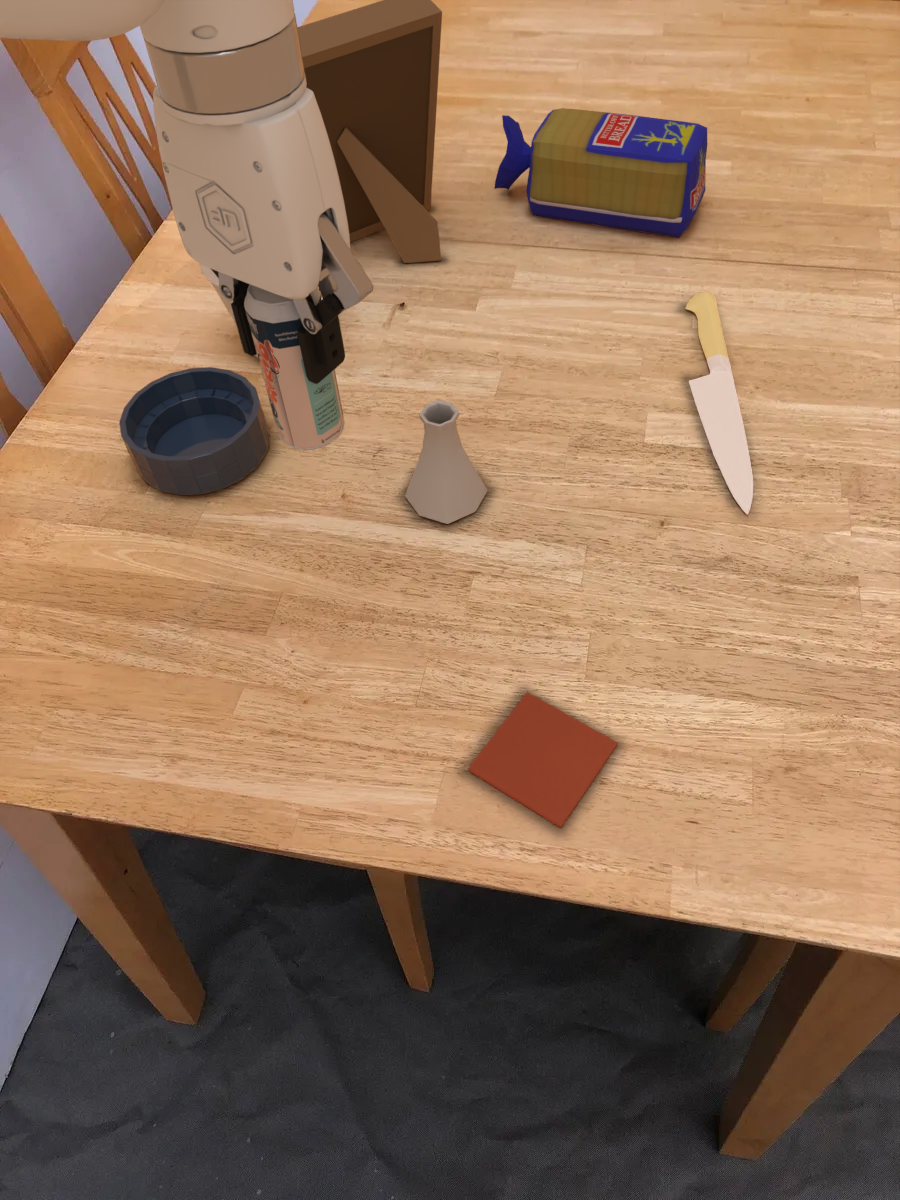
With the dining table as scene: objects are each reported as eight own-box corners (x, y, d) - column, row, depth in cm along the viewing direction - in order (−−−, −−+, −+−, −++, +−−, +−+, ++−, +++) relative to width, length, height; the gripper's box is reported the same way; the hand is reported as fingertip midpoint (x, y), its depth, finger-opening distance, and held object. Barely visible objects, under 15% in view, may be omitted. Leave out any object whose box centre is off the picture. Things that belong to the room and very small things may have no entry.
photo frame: (261, 256, 112) (206, 30, 93) (412, 196, 119) (391, -27, 99) (318, 313, 104) (272, 80, 85) (477, 246, 111) (468, 15, 91)
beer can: (287, 409, 68) (251, 262, 59) (351, 411, 68) (324, 263, 58) (272, 453, 65) (231, 307, 56) (338, 456, 65) (308, 309, 55)
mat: (560, 828, 65) (560, 826, 65) (468, 771, 68) (467, 768, 68) (617, 745, 69) (617, 742, 69) (527, 694, 72) (527, 691, 72)
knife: (715, 514, 82) (768, 507, 81) (671, 293, 102) (713, 285, 101) (716, 524, 83) (768, 517, 82) (672, 303, 103) (714, 295, 102)
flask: (391, 499, 86) (378, 416, 78) (444, 457, 89) (437, 373, 81) (448, 536, 83) (440, 454, 75) (501, 491, 86) (499, 408, 78)
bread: (687, 246, 108) (701, 159, 100) (488, 215, 115) (486, 131, 107) (706, 202, 114) (720, 116, 106) (515, 175, 120) (515, 92, 112)
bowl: (203, 518, 86) (188, 480, 82) (109, 464, 91) (90, 426, 87) (297, 436, 92) (287, 396, 88) (204, 390, 97) (191, 351, 93)
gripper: (61, 58, 48) (164, 347, 63) (307, 131, 42) (360, 436, 56) (164, 7, 52) (240, 291, 66) (406, 67, 45) (432, 368, 60)
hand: (294, 355), depth 61 cm, fingers closed on beer can, 4 cm apart
